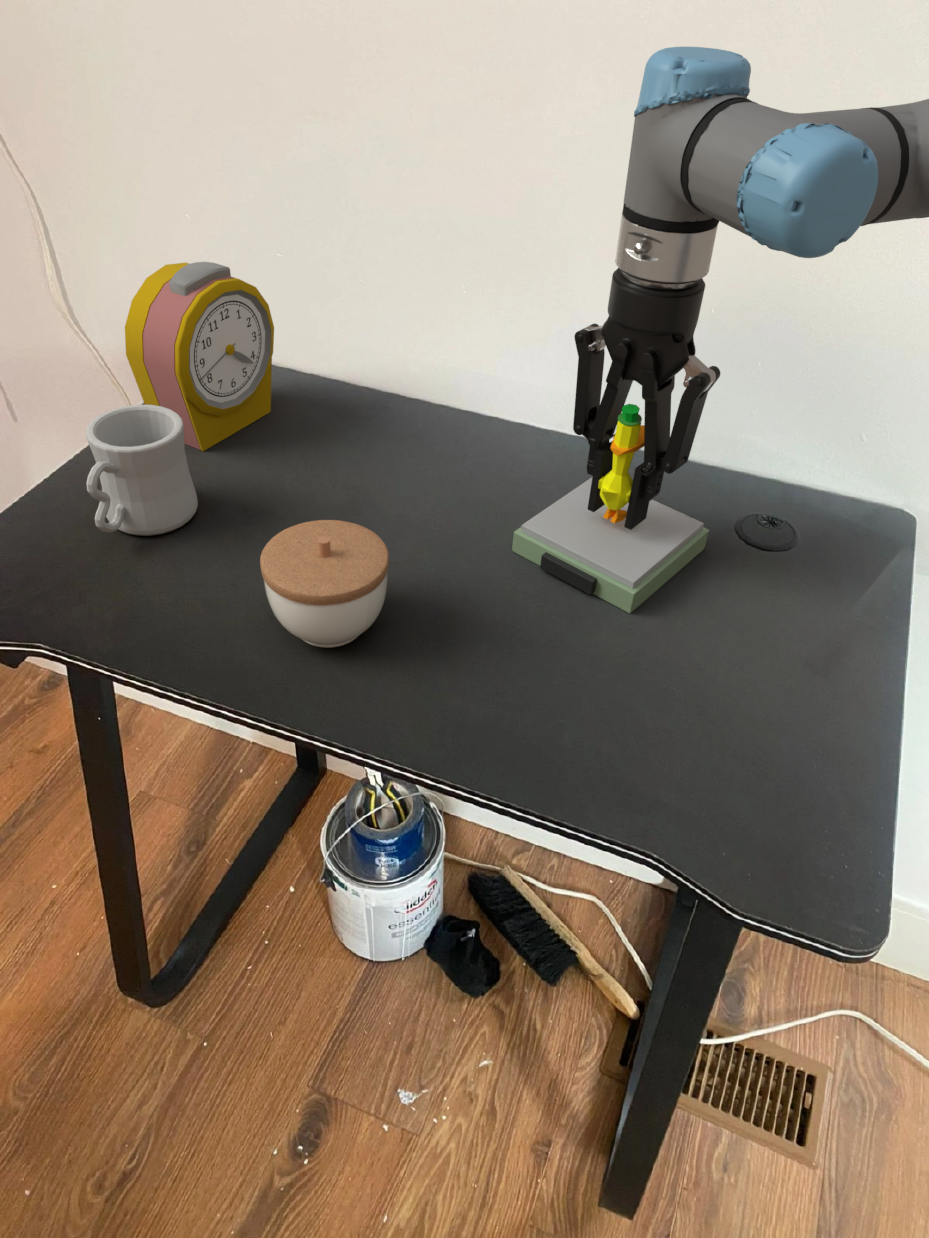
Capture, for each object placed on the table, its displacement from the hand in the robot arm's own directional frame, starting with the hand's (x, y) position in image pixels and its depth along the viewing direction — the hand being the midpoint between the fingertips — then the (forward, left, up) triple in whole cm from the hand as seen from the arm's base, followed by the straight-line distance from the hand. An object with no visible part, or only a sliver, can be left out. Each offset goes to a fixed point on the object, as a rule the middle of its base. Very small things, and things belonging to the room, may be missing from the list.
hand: (616, 513), depth 89 cm
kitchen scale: (0, 0, -4) cm, 4 cm away
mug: (+37, +29, -5) cm, 47 cm away
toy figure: (0, 0, 0) cm, 0 cm away
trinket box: (+12, +27, -5) cm, 30 cm away
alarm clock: (+48, +11, -5) cm, 50 cm away
